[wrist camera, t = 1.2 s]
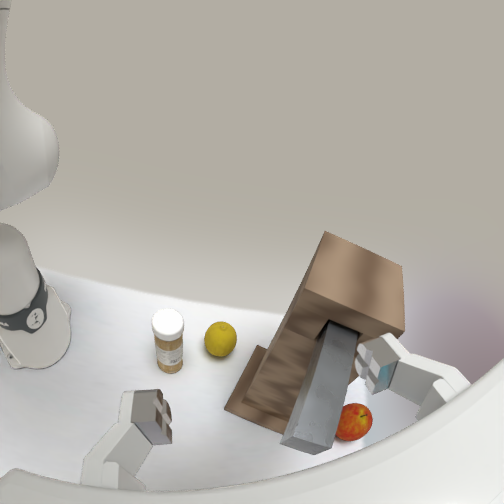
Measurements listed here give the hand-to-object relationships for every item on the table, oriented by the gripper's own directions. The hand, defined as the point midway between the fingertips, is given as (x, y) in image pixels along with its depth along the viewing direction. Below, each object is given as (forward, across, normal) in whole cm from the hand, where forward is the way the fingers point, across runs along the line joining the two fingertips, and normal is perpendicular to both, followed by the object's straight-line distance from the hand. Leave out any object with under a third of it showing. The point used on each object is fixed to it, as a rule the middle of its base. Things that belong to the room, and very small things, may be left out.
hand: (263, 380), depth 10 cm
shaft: (+12, -9, +11) cm, 18 cm away
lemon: (+32, +4, +27) cm, 42 cm away
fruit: (+14, -14, +38) cm, 43 cm away
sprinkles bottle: (+29, +12, +26) cm, 40 cm away
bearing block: (+23, -5, +32) cm, 40 cm away
